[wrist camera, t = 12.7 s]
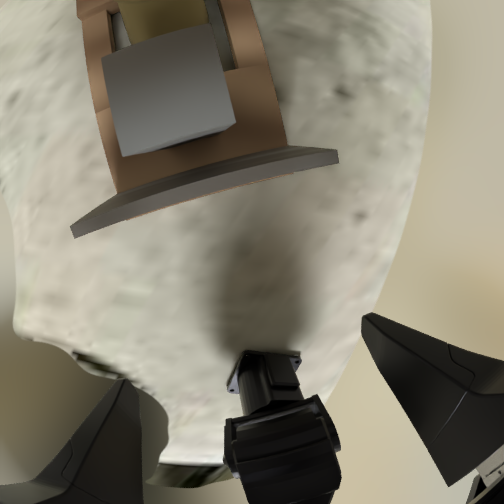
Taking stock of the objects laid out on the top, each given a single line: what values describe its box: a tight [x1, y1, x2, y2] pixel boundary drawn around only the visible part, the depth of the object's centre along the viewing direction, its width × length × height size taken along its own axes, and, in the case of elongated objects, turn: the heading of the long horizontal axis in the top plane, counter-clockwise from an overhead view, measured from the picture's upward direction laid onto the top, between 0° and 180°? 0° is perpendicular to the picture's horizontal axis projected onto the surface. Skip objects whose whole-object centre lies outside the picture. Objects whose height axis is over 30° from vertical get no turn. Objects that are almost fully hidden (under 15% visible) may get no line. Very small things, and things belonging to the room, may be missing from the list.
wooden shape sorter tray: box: [70, 0, 339, 238], centre depth 10 cm, size 18×12×11 cm, turn 13°
